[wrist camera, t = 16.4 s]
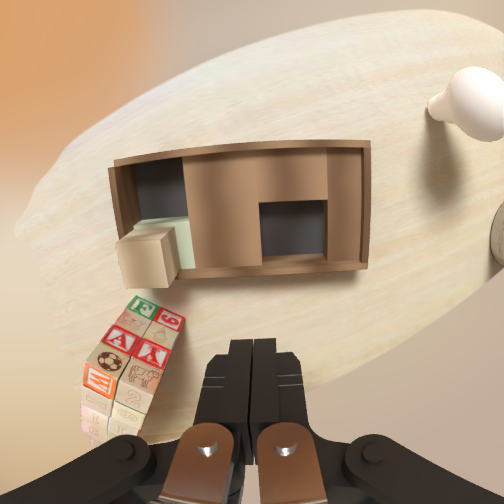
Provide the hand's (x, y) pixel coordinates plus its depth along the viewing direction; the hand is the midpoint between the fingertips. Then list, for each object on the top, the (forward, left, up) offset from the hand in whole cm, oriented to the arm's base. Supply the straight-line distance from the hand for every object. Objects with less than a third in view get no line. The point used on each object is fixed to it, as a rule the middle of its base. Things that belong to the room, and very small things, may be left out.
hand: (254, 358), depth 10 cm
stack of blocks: (+17, +18, -19) cm, 31 cm away
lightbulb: (-18, -11, -19) cm, 29 cm away
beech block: (+9, +1, -17) cm, 19 cm away
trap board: (+1, -2, -19) cm, 19 cm away
